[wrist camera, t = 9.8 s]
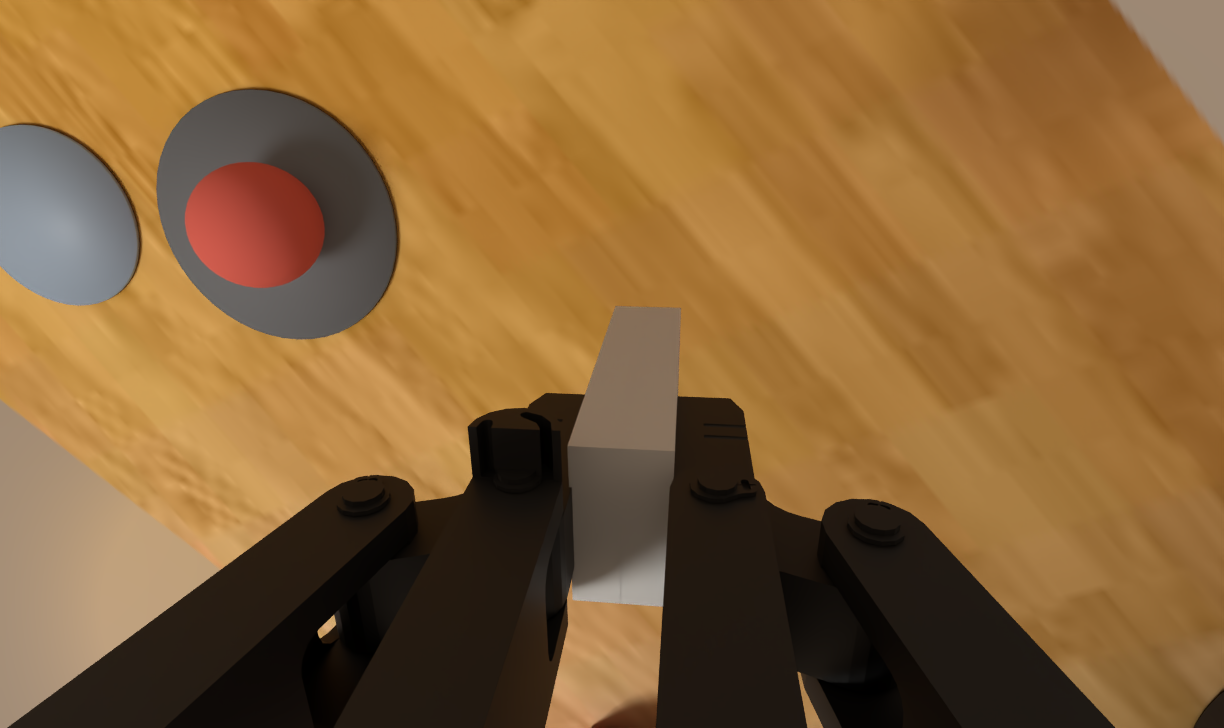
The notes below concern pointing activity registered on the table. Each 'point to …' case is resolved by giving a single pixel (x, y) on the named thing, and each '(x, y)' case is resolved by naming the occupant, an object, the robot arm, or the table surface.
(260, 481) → the table surface
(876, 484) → the table surface
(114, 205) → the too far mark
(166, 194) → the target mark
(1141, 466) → the table surface
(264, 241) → the ball
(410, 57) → the table surface
